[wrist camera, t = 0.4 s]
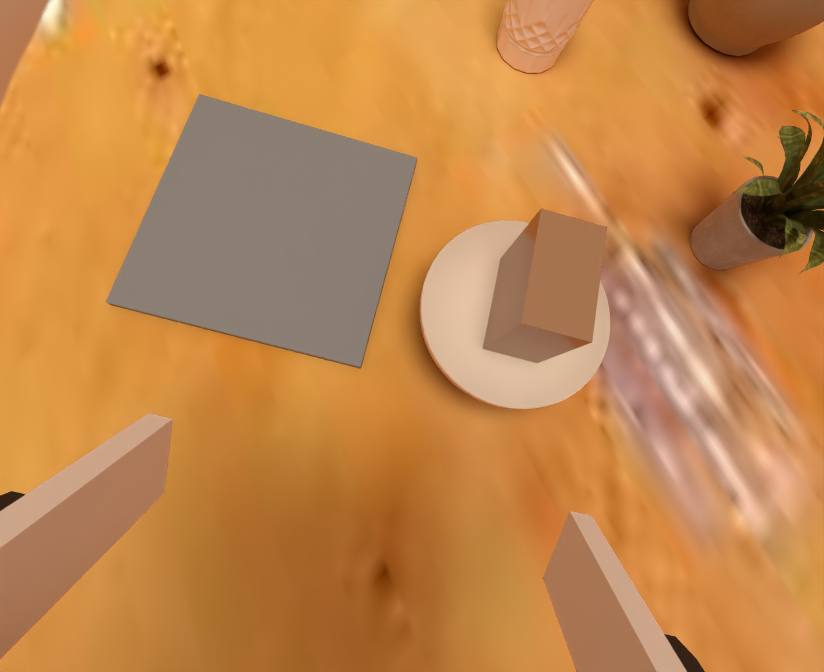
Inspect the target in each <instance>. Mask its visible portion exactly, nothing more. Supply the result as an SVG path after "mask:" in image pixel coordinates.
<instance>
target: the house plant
mask: <svg viewBox="0 0 824 672" xmlns="http://www.w3.org/2000/svg"><path fill="white" fill-rule="evenodd" d="M795 110H796V109H795ZM795 110H792V111H794V112H796V113H798V114H800V115H801V116H802V117H804V118H805V119H806V120H807V122H808V119H807V117H806V116H808V117H810V118H811V119H813V120H815V121H816V122H818V123H819V124H820V125H821V126H822V127H823V129H824V124H823V123H822V121H821V120H820V119H819V118H818V117H816V116H814V115H812V114H810V113H808V112H804V111H795ZM803 114H804V115H803ZM805 115H806V116H805ZM808 124H809V122H808ZM781 127H782V128H781V129H780V131H779V134H780V137H779V138H780V140H781V143H782V146H783V148H784V151H785V157H786V160H785V163H784V166H783V170H782V172H781V174H780V176H779V178H776V177H773V176H759V177H754V178H752V179H750V180H748V181H746V182H745V183H744V184H743V185H742V186H741V187H740V188H738V189H737V190H736V191H735V192H734V193H733V194H732V195H730V196H729V197H728V198H727V199H726V200H725V201H724V202H722V203H721V204H720V205H719V206H718V207H717V208H716V209H715V210H713V211H712V212H711V213H710V214H709V215H708V216H707V217H705V218H704V219H703V220H702V221H701V222H700V223H699V224H697V225H696V226H695V228H694V229H693V230H692V232H691V235H690V245H691V249H692V251H693V253H694V255H695V256H696V258H697V259H698V260H699V261H700V262H701V263H702V264H703V265H705V266H707V267H708V268H711V269H714V270H724V269H728V268H732V267H736V266H740V265H744V264H748V263H752V262H756V261H760V260H763V259H767V258H771V257H775V256H779V255H780V256H779V257H781V256H783V255H784V254H787V253H791V252H794V251H798V250H800V249H801V248H803V247H804V246H806V244H807V243H808V242H809V240H810V239H811V237H812V234H813V231H814V233H815V239H814V242H813V245H812V249H811V252H810V257H809V262H808V264H807V266H806V268H805V269H804V270H803V271H805V270H808V269H810V268H813V267H815V266H818V265H820V264H821V263H822V262H823V261H824V232H823V231H821V230H824V211H822V210H816V209H824V138H823V142H822V145H821V147H820V149H819V150H818V152H817V154H816V155H815V157H814V158H813V160H812V161H811V163H810V164H809V166H808V167H807V169H806V170H805V172H804V173H803V174H802V175H801V177H800V178H799V179H798V180H797V181H796V179H797V177H798V174H799V171H800V162H801V161H802V159H803V157H804V155H805V153H806V151H807V150H808V147H809V144H810V141H811V136H812V130H811V126H810V124H809V131H808V135H807V139H806V141H805V133H804V132H803V131H802V130H801V129H800V128H797V127H795V126H781ZM745 158H746V159H748V160H749V161H751V162H752V163H754V164H755V165H756V166H758V167H759V169H760V170H761V172H762V173H763V167H762V165H761V163H760V162H758V161H756V160H755V159H753V158H750V157H745ZM795 181H796V183H795V184H794V182H795ZM793 184H794V185H793ZM792 185H793V186H792ZM811 210H815V211H811ZM819 229H820V230H819ZM803 271H802V272H803ZM800 273H801V272H800Z"/></svg>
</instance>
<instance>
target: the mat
mask: <svg viewBox="0 0 824 672" xmlns="http://www.w3.org/2000/svg"><path fill="white" fill-rule="evenodd" d="M416 162H417V157H413V156H410V155H406V154H403V153H399V152H396V151H393V150H389V149H386V148H382V147H379V146H375V145H372V144H369V143H365V142H362V141H358V140H355V139H351V138H348V137H345V136H341V135H338V134H334V133H331V132H327V131H324V130H321V129H317V128H314V127H310V126H307V125H303V124H300V123H296V122H293V121H290V120H286V119H283V118H279V117H276V116H272V115H269V114H266V113H262V112H259V111H255V110H252V109H248V108H245V107H242V106H238V105H235V104H231V103H228V102H224V101H221V100H218V99H214V98H211V97H207V96H204V95H200V94H199V96H198V98H197V101H196V103H195V105H194V107H193V109H192V112H191V114H190V116H189V118H188V121H187V123H186V125H185V127H184V129H183V132H182V134H181V136H180V138H179V141H178V143H177V145H176V147H175V149H174V152H173V154H172V156H171V158H170V161H169V163H168V165H167V167H166V169H165V172H164V174H163V176H162V178H161V181H160V183H159V185H158V187H157V189H156V192H155V194H154V196H153V198H152V201H151V203H150V205H149V207H148V209H147V212H146V214H145V216H144V218H143V221H142V223H141V225H140V227H139V229H138V232H137V234H136V236H135V238H134V240H133V243H132V245H131V247H130V249H129V252H128V254H127V256H126V258H125V260H124V263H123V265H122V267H121V269H120V272H119V274H118V276H117V278H116V280H115V283H114V285H113V287H112V289H111V292H110V294H109V296H108V298H107V300H106V303H108V304H110V305H114V306H117V307H121V308H125V309H129V310H133V311H137V312H141V313H145V314H149V315H153V316H157V317H161V318H165V319H169V320H173V321H176V322H180V323H184V324H188V325H192V326H196V327H200V328H204V329H208V330H212V331H216V332H220V333H224V334H228V335H231V336H235V337H239V338H243V339H247V340H251V341H255V342H259V343H263V344H267V345H271V346H275V347H279V348H283V349H286V350H290V351H294V352H298V353H302V354H306V355H310V356H314V357H318V358H322V359H326V360H330V361H334V362H338V363H341V364H345V365H349V366H353V367H357V368H361V364H362V360H363V357H364V353H365V349H366V346H367V342H368V338H369V335H370V331H371V327H372V324H373V320H374V316H375V313H376V309H377V305H378V302H379V298H380V294H381V291H382V287H383V283H384V280H385V276H386V272H387V268H388V265H389V261H390V257H391V254H392V250H393V246H394V243H395V239H396V235H397V232H398V228H399V224H400V221H401V217H402V213H403V210H404V206H405V202H406V199H407V195H408V191H409V187H410V184H411V180H412V176H413V173H414V169H415V165H416Z"/></svg>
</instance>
